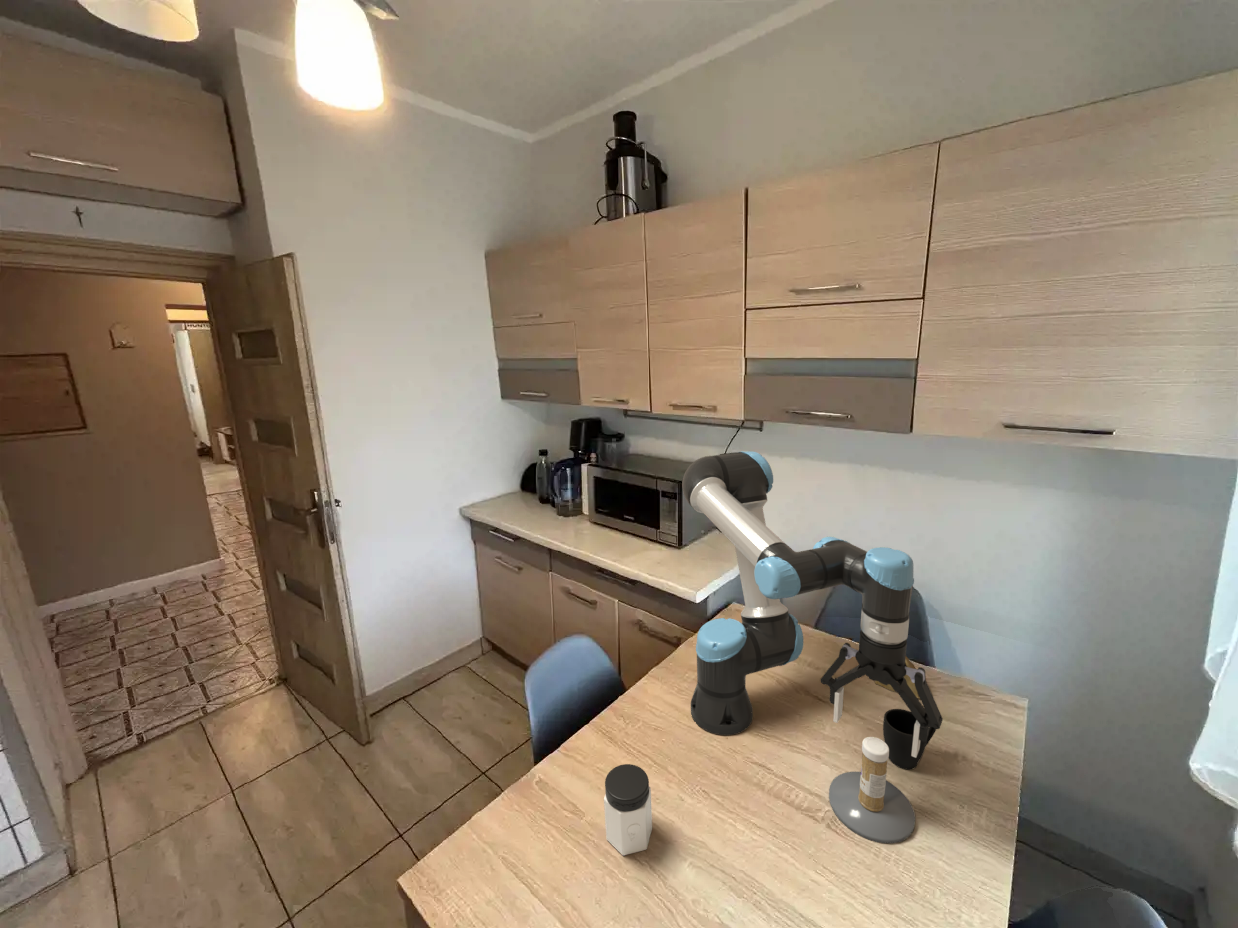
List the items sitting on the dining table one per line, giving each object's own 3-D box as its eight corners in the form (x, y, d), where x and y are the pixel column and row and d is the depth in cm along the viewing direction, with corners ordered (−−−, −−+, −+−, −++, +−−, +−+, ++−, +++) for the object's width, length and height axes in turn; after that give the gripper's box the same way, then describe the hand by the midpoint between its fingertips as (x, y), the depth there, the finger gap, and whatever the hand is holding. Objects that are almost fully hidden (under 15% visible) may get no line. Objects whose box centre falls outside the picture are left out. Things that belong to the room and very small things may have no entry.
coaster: (817, 811, 98) (817, 807, 98) (843, 763, 109) (843, 759, 109) (903, 859, 88) (903, 855, 88) (922, 801, 99) (923, 797, 99)
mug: (949, 766, 107) (953, 728, 105) (899, 778, 105) (902, 739, 103) (919, 738, 115) (923, 702, 113) (872, 748, 113) (875, 711, 111)
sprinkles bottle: (855, 791, 101) (859, 734, 98) (880, 794, 100) (885, 736, 97) (861, 811, 97) (865, 752, 94) (887, 815, 96) (892, 755, 93)
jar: (611, 860, 91) (607, 805, 88) (602, 820, 99) (598, 769, 96) (658, 847, 93) (656, 793, 90) (646, 809, 100) (644, 758, 98)
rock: (939, 688, 127) (908, 661, 136) (928, 671, 124) (897, 645, 133) (906, 716, 127) (877, 687, 136) (895, 700, 124) (865, 671, 133)
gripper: (806, 620, 96) (801, 716, 101) (962, 671, 80) (948, 782, 85) (820, 604, 101) (815, 696, 106) (970, 649, 85) (956, 754, 90)
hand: (874, 734), depth 95 cm, fingers open, 13 cm apart
